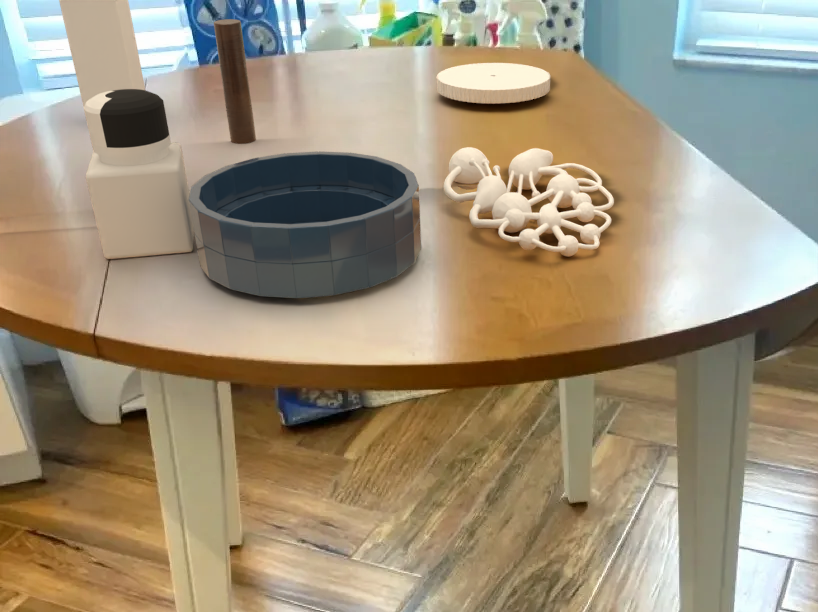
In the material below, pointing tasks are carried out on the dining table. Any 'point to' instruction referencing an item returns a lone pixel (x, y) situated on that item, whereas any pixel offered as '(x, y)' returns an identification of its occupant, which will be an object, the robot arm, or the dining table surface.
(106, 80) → the milk
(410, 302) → the dining table surface
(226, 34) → the stick
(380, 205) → the bowl
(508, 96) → the plastic lid
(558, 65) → the dining table surface
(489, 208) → the tangled rod sculpture
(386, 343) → the dining table surface
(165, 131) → the medicine bottle
